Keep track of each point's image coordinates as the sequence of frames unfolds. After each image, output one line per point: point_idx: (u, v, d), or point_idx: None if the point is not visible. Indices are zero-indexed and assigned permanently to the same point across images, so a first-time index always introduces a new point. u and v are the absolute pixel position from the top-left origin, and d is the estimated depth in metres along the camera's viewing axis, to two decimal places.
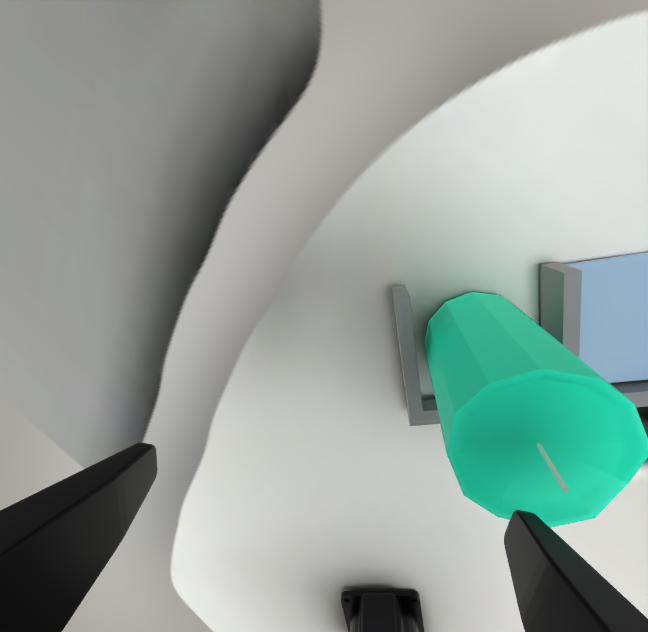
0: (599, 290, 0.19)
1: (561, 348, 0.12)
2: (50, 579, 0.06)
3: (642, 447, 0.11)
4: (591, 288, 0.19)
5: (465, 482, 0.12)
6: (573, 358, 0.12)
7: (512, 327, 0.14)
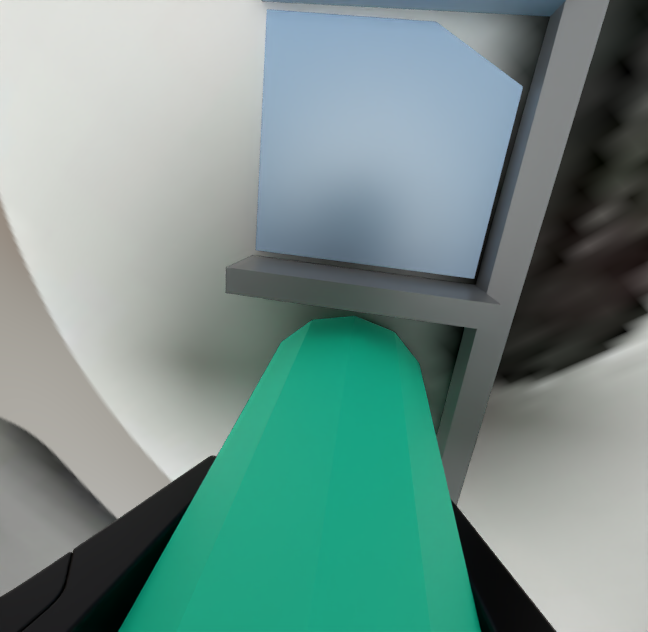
0: (306, 202, 0.12)
1: (158, 561, 0.06)
2: None
3: None
4: (301, 213, 0.12)
5: None
6: (125, 621, 0.05)
7: None
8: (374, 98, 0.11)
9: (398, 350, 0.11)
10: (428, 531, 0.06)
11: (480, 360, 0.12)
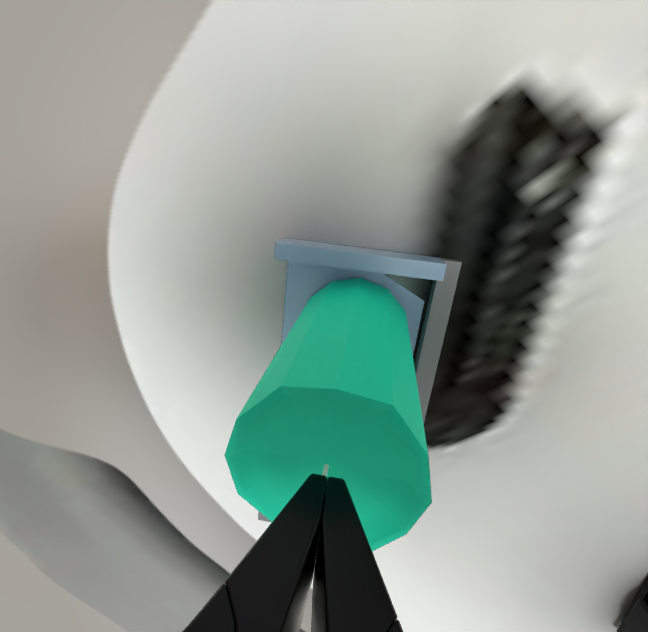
0: None
1: (262, 376, 0.12)
2: (292, 631, 0.06)
3: (331, 395, 0.09)
4: None
5: None
6: (254, 391, 0.11)
7: None
8: None
9: (390, 298, 0.17)
10: (396, 363, 0.12)
11: None
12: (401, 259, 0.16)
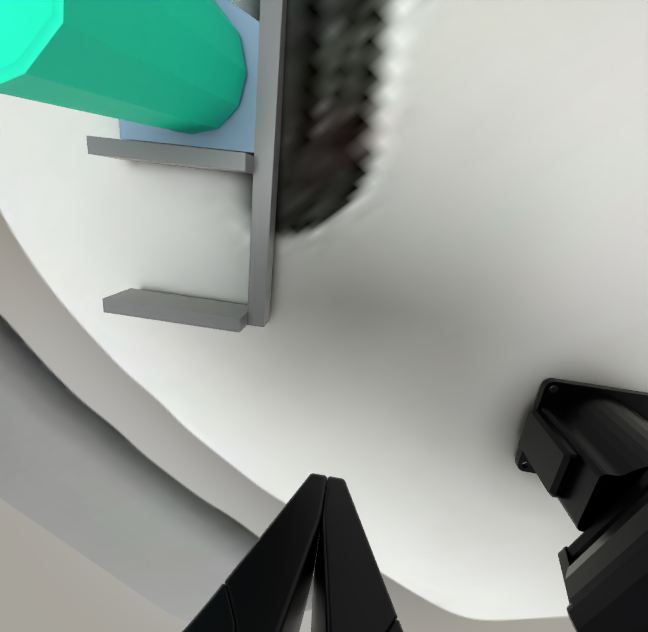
0: None
1: None
2: (292, 631, 0.06)
3: None
4: None
5: (9, 67, 0.08)
6: None
7: None
8: None
9: None
10: None
11: (259, 204, 0.18)
12: None
